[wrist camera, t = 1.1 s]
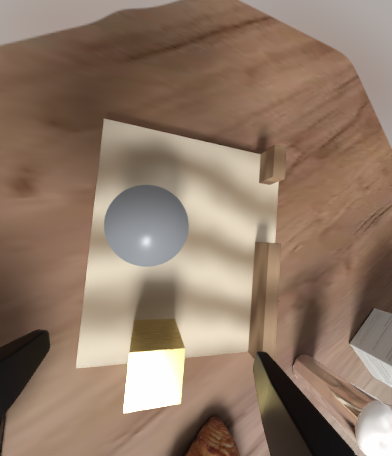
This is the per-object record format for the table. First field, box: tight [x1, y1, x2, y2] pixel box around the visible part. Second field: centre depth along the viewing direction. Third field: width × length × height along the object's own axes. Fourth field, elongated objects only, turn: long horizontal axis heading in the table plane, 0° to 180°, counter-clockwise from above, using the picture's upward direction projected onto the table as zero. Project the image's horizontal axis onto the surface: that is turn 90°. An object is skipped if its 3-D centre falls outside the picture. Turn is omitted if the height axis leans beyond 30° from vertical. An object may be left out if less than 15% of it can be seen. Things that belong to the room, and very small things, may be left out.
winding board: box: [76, 119, 287, 368], centre depth 19 cm, size 23×20×4 cm
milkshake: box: [293, 354, 392, 456], centre depth 19 cm, size 4×5×10 cm
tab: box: [123, 319, 185, 413], centre depth 16 cm, size 4×4×5 cm
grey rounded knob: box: [104, 185, 189, 267], centre depth 16 cm, size 6×6×5 cm
